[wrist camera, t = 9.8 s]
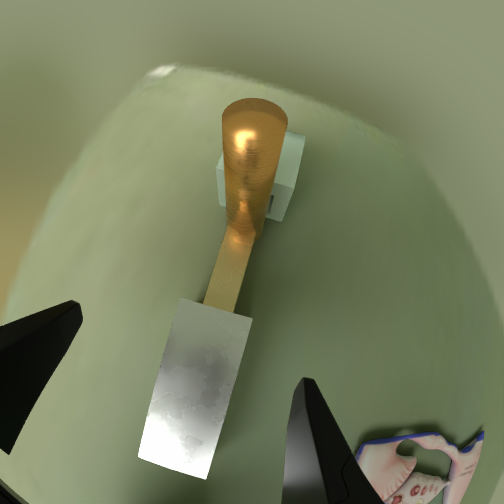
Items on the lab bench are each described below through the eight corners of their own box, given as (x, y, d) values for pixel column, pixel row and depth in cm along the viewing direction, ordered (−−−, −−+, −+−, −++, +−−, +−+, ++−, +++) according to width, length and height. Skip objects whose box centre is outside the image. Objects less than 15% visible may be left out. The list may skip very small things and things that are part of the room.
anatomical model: (449, 504, 15) (481, 412, 20) (461, 510, 12) (496, 414, 17) (317, 542, 15) (354, 436, 19) (324, 555, 12) (367, 445, 17)
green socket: (281, 221, 25) (294, 188, 20) (219, 205, 25) (216, 168, 20) (293, 174, 27) (306, 136, 21) (236, 160, 27) (237, 119, 21)
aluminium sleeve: (211, 455, 18) (205, 479, 14) (155, 437, 18) (138, 456, 14) (249, 323, 22) (252, 318, 18) (191, 306, 22) (180, 297, 18)
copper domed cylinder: (219, 383, 19) (197, 441, 7) (182, 372, 20) (114, 409, 7) (278, 174, 26) (305, 61, 13) (248, 166, 26) (258, 51, 13)
